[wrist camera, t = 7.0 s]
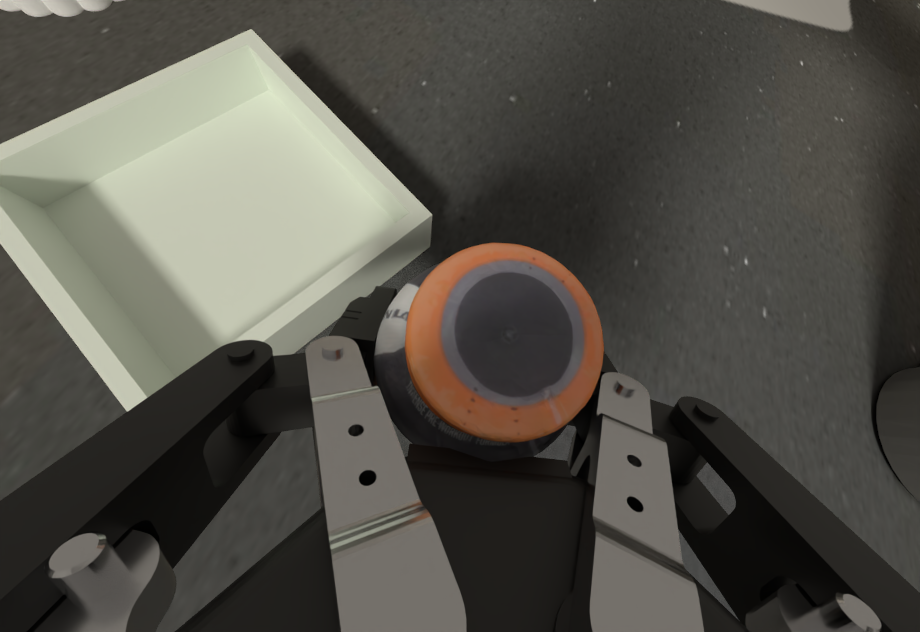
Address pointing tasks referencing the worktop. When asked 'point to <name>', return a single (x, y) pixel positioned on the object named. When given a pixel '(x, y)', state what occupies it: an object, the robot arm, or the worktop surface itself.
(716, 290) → the worktop surface
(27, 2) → the mooncake
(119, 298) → the tray
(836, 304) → the worktop surface
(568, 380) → the pill bottle
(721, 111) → the worktop surface
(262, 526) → the worktop surface
